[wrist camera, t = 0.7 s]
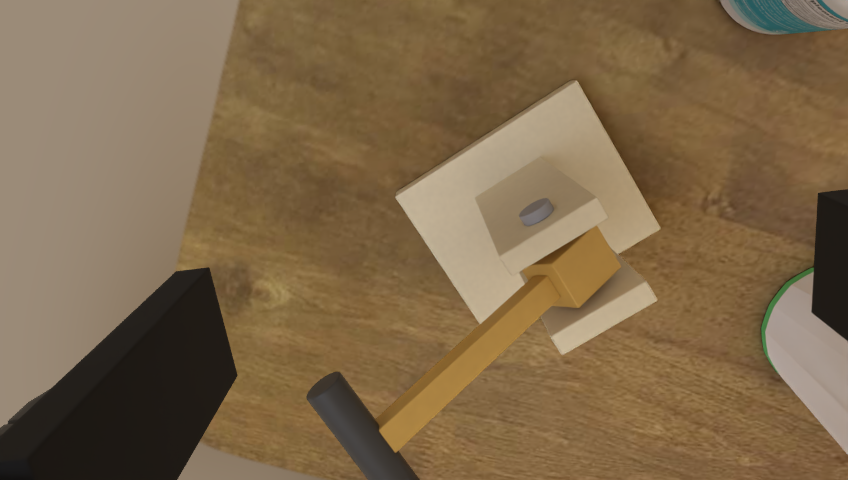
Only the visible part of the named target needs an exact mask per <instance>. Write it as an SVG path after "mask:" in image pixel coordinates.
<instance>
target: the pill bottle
mask: <svg viewBox="0 0 848 480" xmlns="http://www.w3.org/2000/svg"><path fill="white" fill-rule="evenodd" d="M720 2H721V4H722V6H723V7H724V9H725V10H726V12H727V13H728V14H729V15H730V16H731V17H732V18H733V19H734V20H735V21H736V22H737V23H739V24H740V25H742V26H744V27H745V28H747V29H750V30H752V31H755V32H759V33H764V34H772V35H775V34H791V33H804V32H815V31H826V30H836V29H848V0H720Z"/></svg>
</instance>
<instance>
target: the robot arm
mask: <svg viewBox="0 0 848 480" xmlns="http://www.w3.org/2000/svg"><path fill="white" fill-rule="evenodd" d="M811 313H813V314H814V315H815V316H816V317H818V318H819V319H820V320H821V321H823V322H824V323H825V324H826V325H828V326H829V327H830V328H832V329H833V330H834V331H835V332H837V333H838V334H839V335H840V336H842V337H843V338H844V339H845V340H847V341H848V189H846V190H838V191H830V192H822V193H818V204H817V222H816V240H815V257H814V275H813V292H812V310H811ZM236 377H237V372H236V368H235V364H234V360H233V357H232V353H231V349H230V345H229V341H228V337H227V334H226V330H225V326H224V322H223V318H222V314H221V311H220V307H219V303H218V299H217V295H216V292H215V288H214V284H213V280H212V276H211V272H210V269H209V268H201V269H193V270H184V271H176V272H175V273H174V274H173V275H172V276H171V277H170V278H169V279H168V280H167V281H165V282H164V283H163V284H162V285H161V286H160V287H159V288H158V289H157V290H156V291H155V292H154V293H153V294H152V295H151V296H149V297H148V298H147V299H146V301H144V302H143V303H142V304H141V305H140V306H139V307H138V308H137V309H136V310H134V311H133V312H132V313H131V314H130V315H129V316H128V317H127V318H126V319H125V320H124V321H123V322H122V323H121V324H120V325H119V326H117V327H116V328H115V329H114V330H113V331H112V332H111V333H110V334H109V335H108V336H107V337H106V338H105V339H104V340H103V341H102V342H100V343H99V344H98V345H97V346H96V347H95V348H94V349H93V350H92V351H91V352H90V353H89V354H88V355H87V356H85V357H84V358H83V359H82V360H81V361H80V362H79V363H78V364H77V365H76V366H75V367H74V368H73V369H72V370H71V371H70V372H68V373H67V374H66V375H65V376H64V377H63V378H62V379H61V380H60V381H59V382H58V383H57V384H56V385H55V386H53V387H52V388H51V389H49V390H48V391H46V392H45V393H43V394H41V395H40V396H38V397H36V398H35V399H33V400H31V401H30V402H28V403H27V404H26V405H25V406H24V407H23V408H22V409H21V410H20V411H19V412H17V413H16V414H15V415H14V416H13V417H12V418H11V419H10V420H9V421H8V424H7V425H3V426H2V427H1V428H0V480H177V479H178V477H179V476H180V474H181V472H182V470H183V469H184V467H185V465H186V463H187V462H188V460H189V458H190V457H191V455H192V453H193V451H194V450H195V448H196V446H197V445H198V443H199V441H200V439H201V438H202V436H203V434H204V432H205V431H206V429H207V427H208V426H209V424H210V422H211V420H212V419H213V417H214V415H215V413H216V412H217V410H218V408H219V407H220V405H221V403H222V401H223V400H224V398H225V396H226V395H227V393H228V391H229V389H230V388H231V386H232V384H233V382H234V381H235V379H236Z"/></svg>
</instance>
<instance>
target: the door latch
mask: <svg viewBox="0 0 848 480" xmlns="http://www.w3.org/2000/svg"><path fill="white" fill-rule="evenodd" d="M395 197H396V199H397V201H398V202H399V204H400V205H401V207H402V208H403V210H404V211H405V213H406V214H407V216H408V217H409V219H410V220H411V222H412V223H413V225H414V226H415V228H416V229H417V231H418V232H419V234H420V235H421V237H422V238H423V240H424V241H425V243H426V244H427V246H428V247H429V249H430V250H431V252H432V253H433V255H434V256H435V258H436V259H437V261H438V262H439V264H440V265H441V267H442V268H443V270H444V271H445V273H446V274H447V276H448V277H449V279H450V280H451V282H452V283H453V285H454V286H455V288H456V289H457V291H458V292H459V294H460V295H461V297H462V298H463V300H464V301H465V303H466V304H467V306H468V307H469V309H470V310H471V312H472V313H473V315H474V316H475V318H476V319H477V321H478V322H479V324H481V323H482V322H483V321H484V320H486V319H487V318H488V317H489V316H490V315H491V314H492V313H493V312H494V311H496V310H497V309H498V308H499V307H500V306H501V305H502V304H503V303H504V302H505V301H507V300H508V299H509V298H510V297H511V296H512V295H513V294H514V293H515V292H517V291H518V290H519V289H520V288H521V287H522V286H523V285H524V284H525V283H526V282H528V279H527V278H526V276H525V275H524V273H523V271H522V270H524V269H525V268H527V267H529V266H530V265H532V264H534V263H535V262H537V261H539V260H540V259H542V258H543V257H545V256H547V255H548V254H550V253H552V252H553V251H555V250H557V249H558V248H560V247H562V246H563V245H565V244H567V243H568V242H570V241H572V240H573V239H575V238H577V237H578V236H580V235H582V234H583V233H585V232H587V231H588V230H590V229H592V228H593V227H595V226H598V228H599V229H600V231H601V233H602V235H603V236H604V238H605V240H606V241H607V243H608V245H609V246H610V248H611V250H612V251H613V253H614V255H615V257H616V258H617V260H618V262H619V263H620V265H621V268H620V269H619V270H618V271H617V272H616V273H615V274H614V275H612V276H611V277H610V278H609V279H608V280H607V281H606V282H605V283H604V284H603V285H602V286H601V287H600V288H599V289H598V290H597V291H596V292H595V293H594V294H593V295H592V296H591V297H590V298H589V299H588V300H587V301H586V302H585V303H584V304H583V305H582V306H581V307H579V308H573V307H560V306H551V307H550V308H549V309H548V310H547V311H545V312H544V313H543V314H542V315H541V316H540V317H541V319H542V321H543V323H544V325H545V327H546V329H547V331H548V333H549V336H550V338H551V339H552V341H553V342H554V344H555V345H556V347H557V349H558V350H559V352H560V353H561V354H562V355H564V354H566V353H567V352H569V351H571V350H573V349H574V348H576V347H578V346H579V345H581V344H583V343H585V342H586V341H588V340H590V339H592V338H593V337H595V336H597V335H599V334H600V333H602V332H604V331H606V330H607V329H609V328H611V327H612V326H614V325H616V324H618V323H619V322H621V321H623V320H625V319H626V318H628V317H630V316H632V315H633V314H635V313H637V312H639V311H640V310H642V309H644V308H645V307H647V306H649V305H651V304H652V303H654V302H656V301H657V298H656V296H655V294H654V292H653V291H652V289H651V287H650V286H649V284H648V282H647V281H646V280H645V279H644V278H643V277H642V276H641V275H639V274H638V273H637V272H636V271H635V270H634V269H633V268H632V267H631V266H630V265H629V264H628V263H627V262H625V261H624V260H623V259H622V258H621V257H620V256H619V255H618V254H619V253H621V252H623V251H624V250H626V249H628V248H629V247H631V246H633V245H634V244H636V243H638V242H639V241H641V240H643V239H645V238H646V237H648V236H650V235H651V234H653V233H655V232H656V231H658V230H660V229H661V228H660V226H659V224H658V222H657V220H656V219H655V217H654V215H653V213H652V212H651V210H650V208H649V206H648V205H647V203H646V201H645V199H644V198H643V196H642V194H641V192H640V190H639V189H638V187H637V185H636V183H635V182H634V180H633V178H632V176H631V175H630V173H629V171H628V169H627V168H626V166H625V164H624V162H623V160H622V159H621V157H620V155H619V153H618V152H617V150H616V148H615V146H614V145H613V143H612V141H611V139H610V138H609V136H608V134H607V132H606V130H605V129H604V127H603V125H602V123H601V122H600V120H599V118H598V116H597V115H596V113H595V111H594V109H593V108H592V106H591V104H590V102H589V101H588V99H587V97H586V95H585V93H584V92H583V90H582V88H581V86H580V85H579V83H578V81H573V80H571V81H569V82H567V83H566V84H564V85H563V86H561V87H559V88H558V89H556V90H555V91H553V92H552V93H550V94H549V95H547V96H545V97H544V98H542V99H541V100H539V101H538V102H536V103H534V104H533V105H531V106H530V107H528V108H527V109H525V110H524V111H522V112H520V113H519V114H517V115H516V116H514V117H513V118H511V119H509V120H508V121H506V122H505V123H503V124H502V125H500V126H499V127H497V128H495V129H494V130H492V131H491V132H489V133H488V134H486V135H485V136H483V137H481V138H480V139H478V140H477V141H475V142H474V143H472V144H470V145H469V146H467V147H466V148H464V149H463V150H461V151H460V152H458V153H456V154H455V155H453V156H452V157H450V158H449V159H447V160H445V161H444V162H442V163H441V164H439V165H438V166H436V167H435V168H433V169H431V170H430V171H428V172H427V173H425V174H424V175H422V176H420V177H419V178H417V179H416V180H414V181H413V182H411V183H410V184H408V185H406V186H405V187H403V188H402V189H400V190H399V191H397V192H396V196H395Z"/></svg>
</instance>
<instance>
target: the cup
mask: <svg viewBox="0 0 848 480" xmlns="http://www.w3.org/2000/svg"><path fill="white" fill-rule="evenodd" d="M813 275H814V267H813V268H810V269H808V270H806V271H804V272H803V273H801V274H799V275H797V276H796V277H794V278H792V279H791V280H789V281H788V282H786V283H785V285H784V286H783V287H782V288H781V289H780V291H779V292H778V293H777V294H776V296H775V297H774V298H773V300H772V301H771V303H770V304H769V307H768V309H767V312H766V314H765V317H764V320H763V323H762V327H761V333H762V343H763V348H764V352H765V354H766V356H767V358H768V360H769V362H770V363H771V365H772V367H773V368H774V370H775V371H776V372H777V373H778V374H779V375H780V376H781V377H782V378H783V380H784V381H785V382H786V383H787V384H788V385H789V387H790V388H791V389H792V390H793V391H794V392H795V394H796V395H797V396H798V397H799V398H800V399H801V401H802V402H803V403H804V404H805V405H806V406H807V408H808V409H809V410H810V411H811V412H812V413H813V415H814V416H815V417H816V418H817V419H818V420H819V422H820V423H821V424H822V425H823V426H824V428H825V429H826V430H827V431H828V432H829V433H830V435H831V436H832V437H833V438H834V439H835V440H836V442H837V443H838V444H839V445H840V446H841V447H842V449H843V450H844V451H845V452H846V453H847V454H848V341H847V340H845V339H844V338H843V337H842V336H840V335H839V334H838V333H837V332H835V331H834V330H833V329H832V328H830V327H829V326H828V325H826V324H825V323H824V322H823V321H821V320H820V319H819V318H818V317H816V316H815V315H814V314H813V313H811V310H812V292H813Z"/></svg>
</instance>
